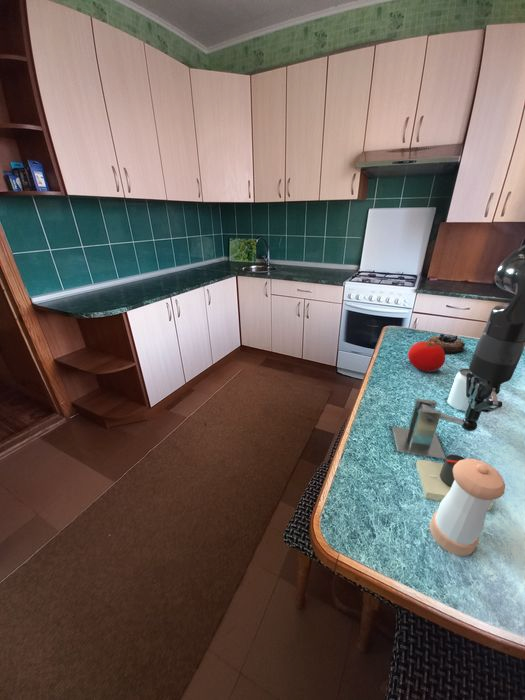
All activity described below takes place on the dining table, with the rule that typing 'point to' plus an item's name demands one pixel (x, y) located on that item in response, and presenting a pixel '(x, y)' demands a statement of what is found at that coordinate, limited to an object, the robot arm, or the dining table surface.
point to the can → (459, 391)
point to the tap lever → (454, 419)
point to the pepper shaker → (466, 506)
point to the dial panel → (433, 480)
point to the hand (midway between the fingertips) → (470, 419)
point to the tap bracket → (420, 432)
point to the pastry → (448, 343)
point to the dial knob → (449, 469)
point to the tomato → (426, 356)
